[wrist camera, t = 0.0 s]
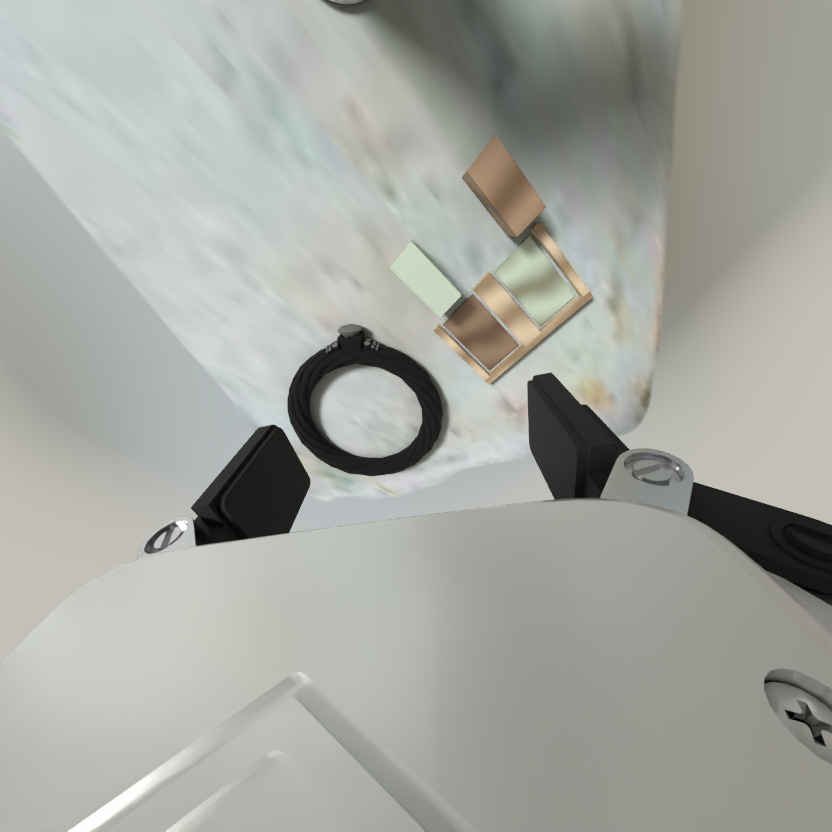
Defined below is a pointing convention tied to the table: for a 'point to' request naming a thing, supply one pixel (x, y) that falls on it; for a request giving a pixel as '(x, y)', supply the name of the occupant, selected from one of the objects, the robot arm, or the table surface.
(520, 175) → the walnut bar
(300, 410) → the cable lock
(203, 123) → the table surface
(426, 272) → the sage bar
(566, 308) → the oak rack
